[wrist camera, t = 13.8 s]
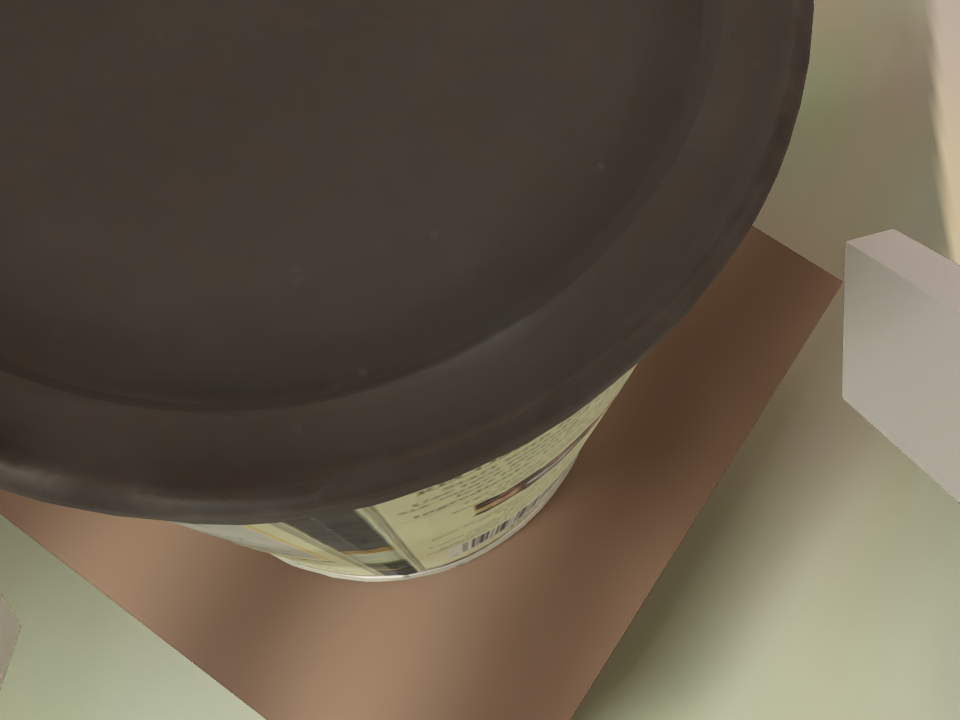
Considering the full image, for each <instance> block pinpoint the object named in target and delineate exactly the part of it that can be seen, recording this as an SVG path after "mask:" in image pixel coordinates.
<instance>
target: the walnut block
mask: <svg viewBox="0 0 960 720" xmlns="http://www.w3.org/2000/svg"><path fill="white" fill-rule="evenodd" d="M841 284H842V281H841V280H839V279H837V278H836V277H834V276H833V275H831V274H829V273H828V272H826V271H824V270H823V269H821V268H820V267H818V266H816V265H815V264H813V263H811V262H810V261H808V260H807V259H805V258H803V257H802V256H800V255H799V254H797V253H795V252H794V251H792V250H790V249H789V248H787V247H786V246H784V245H782V244H781V243H779V242H778V241H776V240H774V239H773V238H771V237H769V236H768V235H766V234H765V233H763V232H761V231H760V230H758V229H756V228H755V227H753V226H751V228H750V230H749V231H748V233H747V234H746V236H745V238H744V239H743V241H742V242H741V244H740V246H739V247H738V249H737V250H736V252H735V253H734V255H733V256H732V257H731V259H730V260H729V261H728V262H727V264H726V265H725V266H724V268H723V269H722V270H721V272H720V273H719V274H718V275H717V277H716V278H715V279H714V281H713V282H712V283H711V285H710V286H709V287H708V288H707V290H706V291H705V292H704V294H703V295H702V296H701V297H700V299H699V300H698V301H697V303H696V304H695V305H694V307H693V308H692V309H691V310H690V312H689V313H688V314H687V315H686V316H685V317H684V318H683V319H682V320H681V321H680V322H679V323H678V324H677V325H676V326H675V328H674V329H673V330H672V331H671V332H670V333H669V334H668V335H667V336H666V337H665V338H664V339H663V340H662V341H661V342H660V343H659V344H658V345H657V346H656V347H655V348H654V349H653V350H652V351H651V352H649V353H648V354H647V355H646V356H645V357H644V358H643V359H642V360H641V361H640V362H639V363H638V364H637V365H636V367H635V368H634V370H633V372H632V373H631V375H630V376H629V378H628V379H627V381H626V382H625V384H624V385H623V387H622V388H621V390H620V392H619V393H618V395H617V396H616V398H615V399H614V400H613V402H612V403H611V405H610V406H609V408H608V409H607V411H606V412H605V414H604V415H603V417H602V418H601V420H600V421H599V423H598V424H597V425H596V427H595V428H594V430H593V431H592V433H591V434H590V436H589V437H588V439H587V440H586V441H585V443H584V445H583V446H582V448H581V449H580V451H579V453H578V456H577V458H576V460H575V462H574V464H573V466H572V468H571V469H570V471H569V473H568V474H567V476H566V478H565V479H564V480H563V482H562V483H561V485H560V486H559V487H558V489H557V490H556V492H555V493H554V494H553V496H552V497H551V498H550V499H549V501H548V502H547V503H546V504H545V505H544V507H543V508H542V509H541V510H540V511H539V512H538V513H537V514H536V515H535V516H534V517H533V518H532V519H531V520H530V521H529V522H528V523H527V524H526V525H525V526H524V527H522V528H521V529H520V530H519V531H517V532H516V533H515V534H513V535H512V536H511V537H509V538H508V539H507V540H505V541H504V542H503V543H501V544H499V545H498V546H496V547H495V548H493V549H492V550H490V551H489V552H487V553H485V554H483V555H481V556H479V557H477V558H475V559H473V560H472V561H470V562H469V563H467V564H465V565H461V566H457V567H455V568H452V569H450V570H447V571H444V572H440V573H437V574H433V575H429V576H424V577H419V578H413V579H408V580H401V581H384V582H365V581H355V580H347V579H339V578H332V577H329V576H326V575H323V574H320V573H316V572H312V571H308V570H304V569H301V568H297V567H294V566H292V565H290V564H288V563H286V562H284V561H282V560H281V559H279V558H277V557H275V556H273V555H272V554H270V553H267V552H262V551H259V550H255V549H252V548H249V547H245V546H242V545H239V544H235V543H233V542H230V541H227V540H224V539H221V538H218V537H215V536H212V535H209V534H206V533H203V532H200V531H197V530H194V529H191V528H188V527H185V526H182V525H179V524H176V523H173V522H170V521H163V520H152V519H142V518H131V517H120V516H112V515H107V514H102V513H96V512H91V511H86V510H80V509H75V508H70V507H65V506H60V505H55V504H50V503H45V502H41V501H38V500H35V499H31V498H28V497H25V496H22V495H18V494H15V493H12V492H8V491H5V490H2V489H0V514H1V515H3V516H4V517H5V518H7V519H8V520H9V521H10V522H12V523H13V524H14V525H16V526H17V527H18V528H19V529H21V530H22V531H23V532H25V533H26V534H27V535H29V536H30V537H31V538H32V539H34V540H35V541H36V542H38V543H39V544H40V545H41V546H43V547H44V548H45V549H47V550H48V551H49V552H51V553H52V554H53V555H54V556H56V557H57V558H58V559H60V560H61V561H62V562H63V563H65V564H66V565H67V566H69V567H70V568H71V569H72V570H74V571H75V572H76V573H78V574H79V575H80V576H82V577H83V578H84V579H85V580H87V581H88V582H89V583H91V584H92V585H93V586H94V587H96V588H97V589H98V590H100V591H101V592H102V593H104V594H105V595H106V596H107V597H109V598H110V599H111V600H113V601H114V602H115V603H116V604H118V605H119V606H120V607H122V608H123V609H124V610H125V611H127V612H128V613H129V614H131V615H132V616H133V617H135V618H136V619H137V620H138V621H140V622H141V623H142V624H144V625H145V626H146V627H147V628H149V629H150V630H151V631H153V632H154V633H155V634H157V635H158V636H159V637H160V638H162V639H163V640H164V641H166V642H167V643H168V644H169V645H171V646H172V647H173V648H175V649H176V650H177V651H179V652H180V653H181V654H182V655H184V656H185V657H186V658H188V659H189V660H190V661H191V662H193V663H194V664H195V665H197V666H198V667H199V668H200V669H202V670H203V671H204V672H206V673H207V674H208V675H210V676H211V677H212V678H213V679H215V680H216V681H217V682H219V683H220V684H221V685H222V686H224V687H225V688H226V689H228V690H229V691H230V692H232V693H233V694H234V695H235V696H237V697H238V698H239V699H241V700H242V701H243V702H244V703H246V704H247V705H248V706H250V707H251V708H252V709H253V710H255V711H256V712H257V713H259V714H260V715H261V716H263V717H264V718H265V719H266V720H570V719H571V717H572V716H573V714H574V712H575V711H576V709H577V708H578V706H579V704H580V703H581V701H582V700H583V698H584V696H585V695H586V693H587V692H588V690H589V688H590V687H591V685H592V684H593V682H594V680H595V679H596V677H597V676H598V674H599V672H600V671H601V669H602V668H603V666H604V664H605V663H606V661H607V660H608V658H609V656H610V655H611V653H612V651H613V650H614V648H615V647H616V645H617V643H618V642H619V640H620V639H621V637H622V635H623V634H624V632H625V631H626V629H627V627H628V626H629V624H630V623H631V621H632V619H633V618H634V616H635V615H636V613H637V611H638V610H639V608H640V607H641V605H642V603H643V602H644V600H645V599H646V597H647V595H648V594H649V592H650V590H651V589H652V587H653V586H654V584H655V582H656V581H657V579H658V578H659V576H660V574H661V573H662V571H663V570H664V568H665V566H666V565H667V563H668V562H669V560H670V558H671V557H672V555H673V554H674V552H675V550H676V549H677V547H678V546H679V544H680V542H681V541H682V539H683V538H684V536H685V534H686V533H687V531H688V529H689V528H690V526H691V525H692V523H693V521H694V520H695V518H696V517H697V515H698V513H699V512H700V510H701V509H702V507H703V505H704V504H705V502H706V501H707V499H708V497H709V496H710V494H711V493H712V491H713V489H714V488H715V486H716V485H717V483H718V481H719V480H720V478H721V477H722V475H723V473H724V472H725V470H726V468H727V467H728V465H729V464H730V462H731V460H732V459H733V457H734V456H735V454H736V452H737V451H738V449H739V448H740V446H741V444H742V443H743V441H744V440H745V438H746V436H747V435H748V433H749V432H750V430H751V428H752V427H753V425H754V424H755V422H756V420H757V419H758V417H759V416H760V414H761V412H762V411H763V409H764V407H765V406H766V404H767V403H768V401H769V399H770V398H771V396H772V395H773V393H774V391H775V390H776V388H777V387H778V385H779V383H780V382H781V380H782V379H783V377H784V375H785V374H786V372H787V371H788V369H789V367H790V366H791V364H792V363H793V361H794V359H795V358H796V356H797V355H798V353H799V351H800V350H801V348H802V347H803V345H804V343H805V342H806V340H807V338H808V337H809V335H810V334H811V332H812V330H813V329H814V327H815V326H816V324H817V322H818V321H819V319H820V318H821V316H822V314H823V313H824V311H825V310H826V308H827V306H828V305H829V303H830V302H831V300H832V298H833V297H834V295H835V294H836V292H837V290H838V289H839V287H840V286H841Z"/></svg>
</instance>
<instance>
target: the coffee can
mask: <svg viewBox="0 0 960 720" xmlns="http://www.w3.org/2000/svg"><path fill="white" fill-rule="evenodd" d="M813 11H814V0H0V489H2V490H5V491H8V492H12V493H15V494H18V495H22V496H25V497H28V498H31V499H35V500H38V501H41V502H45V503H50V504H55V505H60V506H65V507H70V508H75V509H80V510H86V511H91V512H96V513H102V514H107V515H112V516H120V517H131V518H142V519H152V520H163V521H170V522H173V523H176V524H179V525H182V526H185V527H188V528H191V529H194V530H197V531H200V532H203V533H206V534H209V535H212V536H215V537H218V538H221V539H224V540H227V541H230V542H233V543H235V544H239V545H242V546H245V547H249V548H252V549H255V550H259V551H262V552H267V553H270V554H272V555H273V556H275V557H277V558H279V559H281V560H282V561H284V562H286V563H288V564H290V565H292V566H294V567H297V568H301V569H304V570H308V571H312V572H316V573H320V574H323V575H326V576H329V577H332V578H339V579H347V580H355V581H365V582H384V581H401V580H408V579H413V578H419V577H424V576H429V575H433V574H437V573H440V572H444V571H447V570H450V569H452V568H455V567H457V566H461V565H465V564H467V563H469V562H470V561H472V560H473V559H475V558H477V557H479V556H481V555H483V554H485V553H487V552H489V551H490V550H492V549H493V548H495V547H496V546H498V545H499V544H501V543H503V542H504V541H505V540H507V539H508V538H509V537H511V536H512V535H513V534H515V533H516V532H517V531H519V530H520V529H521V528H522V527H524V526H525V525H526V524H527V523H528V522H529V521H530V520H531V519H532V518H533V517H534V516H535V515H536V514H537V513H538V512H539V511H540V510H541V509H542V508H543V507H544V505H545V504H546V503H547V502H548V501H549V499H550V498H551V497H552V496H553V494H554V493H555V492H556V490H557V489H558V487H559V486H560V485H561V483H562V482H563V480H564V479H565V478H566V476H567V474H568V473H569V471H570V469H571V468H572V466H573V464H574V462H575V460H576V458H577V456H578V453H579V451H580V449H581V448H582V446H583V445H584V443H585V441H586V440H587V439H588V437H589V436H590V434H591V433H592V431H593V430H594V428H595V427H596V425H597V424H598V423H599V421H600V420H601V418H602V417H603V415H604V414H605V412H606V411H607V409H608V408H609V406H610V405H611V403H612V402H613V400H614V399H615V398H616V396H617V395H618V393H619V392H620V390H621V388H622V387H623V385H624V384H625V382H626V381H627V379H628V378H629V376H630V375H631V373H632V372H633V370H634V368H635V367H636V365H637V364H638V363H639V362H640V361H641V360H642V359H643V358H644V357H645V356H646V355H647V354H648V353H649V352H651V351H652V350H653V349H654V348H655V347H656V346H657V345H658V344H659V343H660V342H661V341H662V340H663V339H664V338H665V337H666V336H667V335H668V334H669V333H670V332H671V331H672V330H673V329H674V328H675V326H676V325H677V324H678V323H679V322H680V321H681V320H682V319H683V318H684V317H685V316H686V315H687V314H688V313H689V312H690V310H691V309H692V308H693V307H694V305H695V304H696V303H697V301H698V300H699V299H700V297H701V296H702V295H703V294H704V292H705V291H706V290H707V288H708V287H709V286H710V285H711V283H712V282H713V281H714V279H715V278H716V277H717V275H718V274H719V273H720V272H721V270H722V269H723V268H724V266H725V265H726V264H727V262H728V261H729V260H730V259H731V257H732V256H733V255H734V253H735V252H736V250H737V249H738V247H739V246H740V244H741V242H742V241H743V239H744V238H745V236H746V234H747V233H748V231H749V230H750V228H751V226H752V224H753V222H754V221H755V219H756V217H757V215H758V213H759V211H760V210H761V208H762V206H763V204H764V202H765V200H766V198H767V196H768V194H769V191H770V189H771V187H772V185H773V183H774V181H775V179H776V177H777V175H778V172H779V169H780V167H781V164H782V161H783V158H784V156H785V153H786V150H787V148H788V145H789V142H790V138H791V135H792V131H793V128H794V124H795V121H796V117H797V114H798V111H799V108H800V104H801V99H802V94H803V89H804V84H805V79H806V74H807V69H808V64H809V56H810V45H811V33H812V22H813Z"/></svg>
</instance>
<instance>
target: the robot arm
mask: <svg viewBox="0 0 960 720" xmlns="http://www.w3.org/2000/svg"><path fill="white" fill-rule="evenodd" d="M842 398H843V399H844V400H845V401H846V402H847V403H848V404H850V405H851V406H852V407H853V408H854V409H855V410H856V411H857V412H858V413H860V414H861V415H862V416H863V417H864V418H865V419H866V420H867V421H868V422H870V423H871V424H872V425H873V426H874V427H875V428H876V429H877V430H879V431H880V432H881V433H882V434H883V435H884V436H885V437H886V438H887V439H889V440H890V441H891V442H892V443H893V444H894V445H895V446H896V447H897V448H899V449H900V450H901V451H902V452H903V453H904V454H905V455H906V456H907V457H909V458H910V459H911V460H912V461H913V462H914V463H915V464H916V465H917V466H919V467H920V468H921V469H922V470H923V471H924V472H925V473H926V474H927V475H929V476H930V477H931V478H932V479H933V480H934V481H935V482H936V483H937V484H939V485H940V486H941V487H942V488H943V489H944V490H945V491H946V492H947V493H949V494H950V495H951V496H952V497H953V498H954V499H955V500H956V501H958V502H959V503H960V265H958V264H956V263H955V262H953V261H951V260H949V259H947V258H946V257H944V256H942V255H940V254H938V253H937V252H935V251H933V250H931V249H929V248H928V247H926V246H924V245H922V244H920V243H919V242H917V241H915V240H913V239H911V238H910V237H908V236H906V235H904V234H902V233H901V232H899V231H897V230H895V229H890V230H886V231H882V232H878V233H874V234H871V235H867V236H863V237H859V238H855V239H851V240H848V241H845V281H844V329H843V378H842ZM20 628H21V624H20V623H19V621H18V619H17V618H16V616H15V614H14V613H13V611H12V609H11V608H10V606H9V604H8V603H7V601H6V599H5V598H4V596H3V594H2V593H1V591H0V689H1V686H2V683H3V680H4V677H5V674H6V671H7V668H8V665H9V661H10V658H11V655H12V652H13V649H14V646H15V643H16V640H17V637H18V634H19V631H20Z"/></svg>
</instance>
